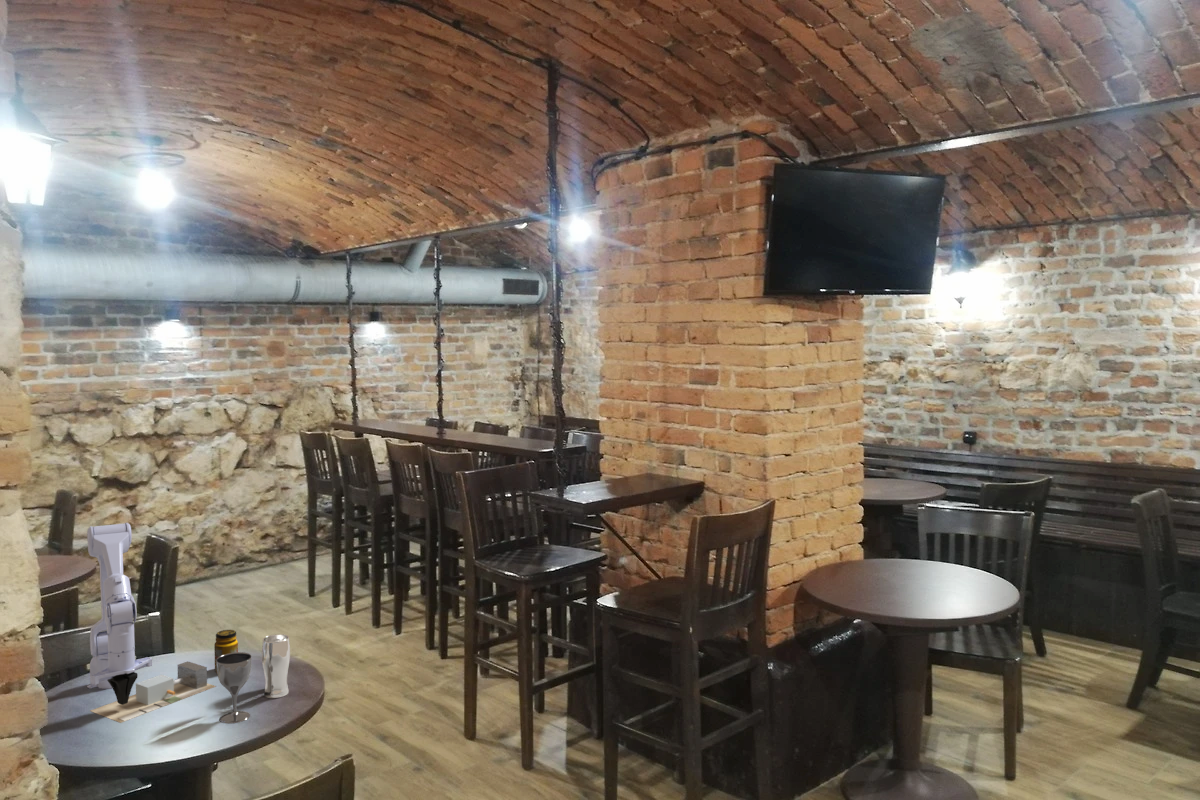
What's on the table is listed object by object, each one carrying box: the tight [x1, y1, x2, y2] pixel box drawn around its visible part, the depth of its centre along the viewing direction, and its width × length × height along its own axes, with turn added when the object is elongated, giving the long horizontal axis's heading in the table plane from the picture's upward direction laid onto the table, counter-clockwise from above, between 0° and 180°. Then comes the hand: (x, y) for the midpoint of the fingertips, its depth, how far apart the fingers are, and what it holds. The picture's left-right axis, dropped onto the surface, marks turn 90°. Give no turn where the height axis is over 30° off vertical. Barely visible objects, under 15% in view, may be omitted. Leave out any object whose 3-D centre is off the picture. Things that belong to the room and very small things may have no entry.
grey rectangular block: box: [177, 661, 208, 689], centre depth 231 cm, size 8×3×5 cm, turn 60°
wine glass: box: [216, 651, 252, 724], centre depth 214 cm, size 8×8×15 cm
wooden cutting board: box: [89, 682, 217, 724], centre depth 222 cm, size 13×26×1 cm, turn 150°
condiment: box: [214, 629, 239, 674], centre depth 241 cm, size 7×8×12 cm
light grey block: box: [135, 674, 183, 705], centre depth 223 cm, size 7×11×4 cm
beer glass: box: [261, 633, 291, 699], centre depth 229 cm, size 7×7×15 cm
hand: (122, 703), depth 215 cm, fingers closed
